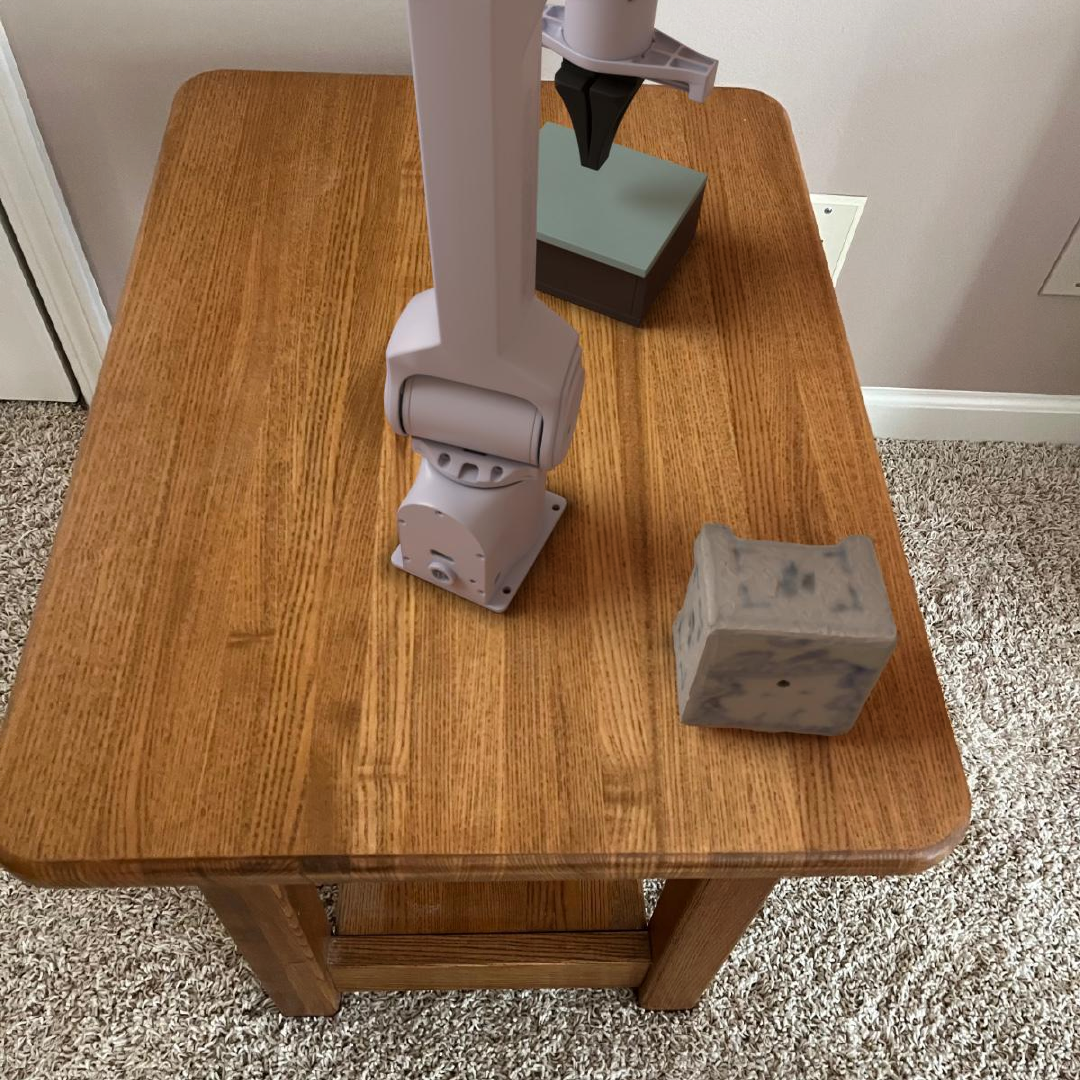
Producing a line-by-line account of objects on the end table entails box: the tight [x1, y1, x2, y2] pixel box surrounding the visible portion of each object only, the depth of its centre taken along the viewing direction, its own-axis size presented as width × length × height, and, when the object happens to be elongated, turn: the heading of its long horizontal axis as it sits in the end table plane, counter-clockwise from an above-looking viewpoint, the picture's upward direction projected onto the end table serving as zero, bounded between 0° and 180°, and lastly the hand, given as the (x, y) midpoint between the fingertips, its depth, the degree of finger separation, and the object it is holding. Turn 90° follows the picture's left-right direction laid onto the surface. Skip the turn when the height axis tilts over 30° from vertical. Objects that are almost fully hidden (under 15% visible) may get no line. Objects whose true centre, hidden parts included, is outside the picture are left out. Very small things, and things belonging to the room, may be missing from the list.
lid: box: [536, 120, 709, 278], centre depth 73 cm, size 12×14×1 cm
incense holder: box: [671, 522, 899, 737], centre depth 54 cm, size 10×8×10 cm
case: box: [535, 183, 707, 329], centre depth 76 cm, size 12×14×5 cm
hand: (594, 161), depth 70 cm, fingers closed
